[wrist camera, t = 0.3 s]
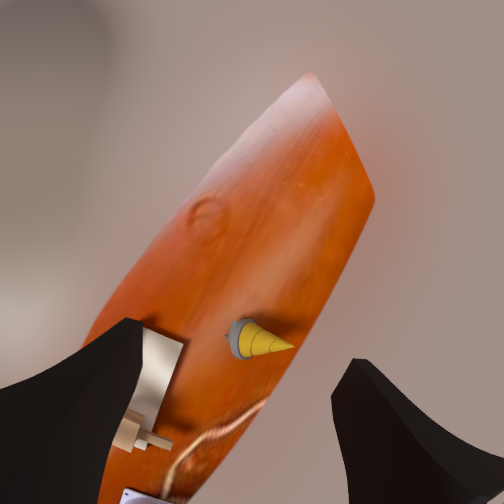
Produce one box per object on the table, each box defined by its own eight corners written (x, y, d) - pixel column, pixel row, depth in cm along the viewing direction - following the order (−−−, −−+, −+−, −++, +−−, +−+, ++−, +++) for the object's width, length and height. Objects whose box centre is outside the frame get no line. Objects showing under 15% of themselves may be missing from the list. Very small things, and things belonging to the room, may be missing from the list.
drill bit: (233, 310, 39) (301, 318, 34) (237, 345, 39) (302, 355, 34) (209, 323, 34) (284, 335, 29) (215, 360, 35) (285, 376, 30)
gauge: (167, 452, 28) (167, 466, 24) (107, 427, 27) (98, 438, 23) (176, 427, 30) (176, 438, 25) (115, 402, 29) (107, 409, 24)
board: (145, 447, 28) (143, 455, 26) (97, 426, 28) (91, 431, 25) (183, 344, 35) (183, 343, 32) (134, 323, 34) (131, 320, 31)
